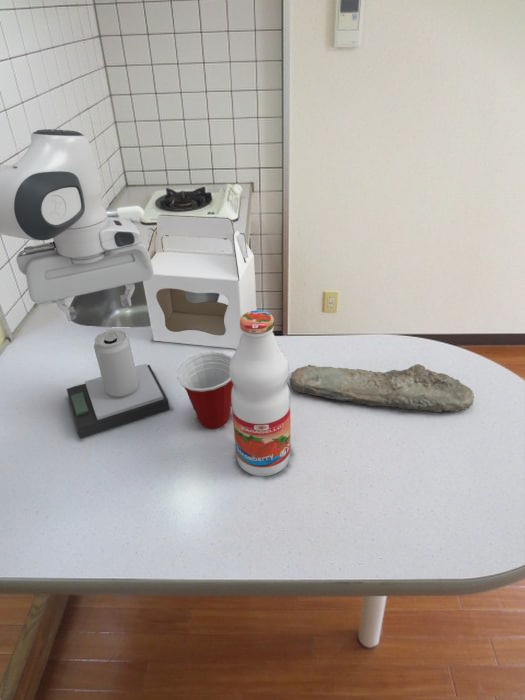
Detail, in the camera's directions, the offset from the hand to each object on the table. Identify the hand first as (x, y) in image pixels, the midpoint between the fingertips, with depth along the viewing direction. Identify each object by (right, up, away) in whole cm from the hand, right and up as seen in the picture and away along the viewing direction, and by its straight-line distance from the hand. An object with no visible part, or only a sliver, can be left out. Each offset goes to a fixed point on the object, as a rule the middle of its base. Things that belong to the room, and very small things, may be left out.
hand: (99, 312), depth 91 cm
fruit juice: (+28, -25, -1) cm, 38 cm away
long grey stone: (+51, -15, +12) cm, 55 cm away
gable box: (+15, -2, +34) cm, 37 cm away
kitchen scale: (0, -17, +12) cm, 21 cm away
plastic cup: (+19, -20, +8) cm, 29 cm away
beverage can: (+1, -14, +11) cm, 18 cm away
